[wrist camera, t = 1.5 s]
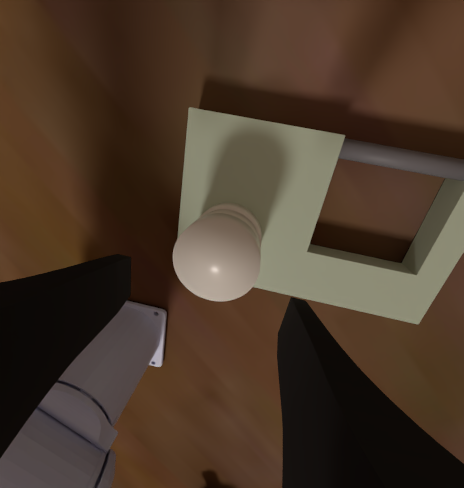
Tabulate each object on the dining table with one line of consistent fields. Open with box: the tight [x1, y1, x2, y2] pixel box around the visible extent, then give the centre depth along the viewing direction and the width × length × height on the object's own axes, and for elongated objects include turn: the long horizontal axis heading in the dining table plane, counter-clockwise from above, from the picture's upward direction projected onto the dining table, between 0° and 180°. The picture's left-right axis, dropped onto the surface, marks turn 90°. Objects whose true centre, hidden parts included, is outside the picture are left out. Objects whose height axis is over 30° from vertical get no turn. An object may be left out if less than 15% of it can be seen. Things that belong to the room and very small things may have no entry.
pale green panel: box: [177, 107, 464, 324], centre depth 17 cm, size 20×12×2 cm, turn 80°
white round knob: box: [173, 203, 262, 301], centre depth 15 cm, size 5×5×5 cm
